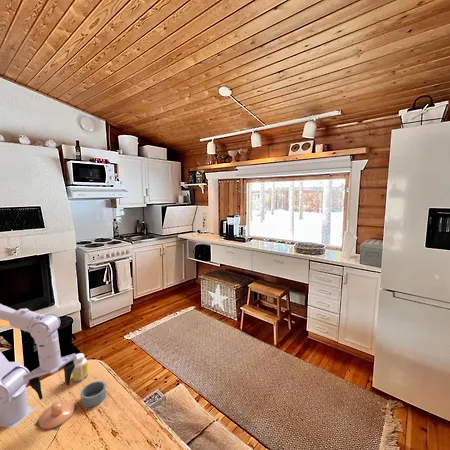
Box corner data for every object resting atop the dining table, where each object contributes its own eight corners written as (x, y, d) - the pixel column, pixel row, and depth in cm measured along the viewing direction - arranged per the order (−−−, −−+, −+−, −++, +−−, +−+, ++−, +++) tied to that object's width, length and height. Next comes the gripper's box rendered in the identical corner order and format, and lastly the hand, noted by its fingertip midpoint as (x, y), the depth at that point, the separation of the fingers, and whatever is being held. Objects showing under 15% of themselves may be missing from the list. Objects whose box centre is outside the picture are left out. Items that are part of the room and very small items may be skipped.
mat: (34, 426, 83) (33, 424, 83) (57, 403, 91) (57, 402, 91) (57, 431, 81) (56, 430, 81) (79, 408, 89) (78, 406, 89)
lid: (31, 425, 82) (29, 415, 82) (57, 401, 92) (56, 391, 91) (56, 432, 80) (55, 421, 80) (81, 405, 90) (80, 396, 89)
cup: (76, 406, 90) (75, 396, 90) (92, 389, 98) (91, 379, 97) (96, 410, 89) (95, 399, 88) (111, 392, 96) (110, 382, 96)
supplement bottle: (86, 371, 108) (84, 350, 106) (90, 378, 104) (87, 356, 102) (71, 378, 104) (69, 356, 103) (74, 385, 100) (72, 362, 99)
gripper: (24, 370, 75) (30, 411, 77) (78, 347, 85) (82, 383, 87) (19, 360, 80) (25, 399, 81) (71, 339, 90) (75, 374, 92)
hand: (54, 390), depth 85 cm, fingers open, 7 cm apart
